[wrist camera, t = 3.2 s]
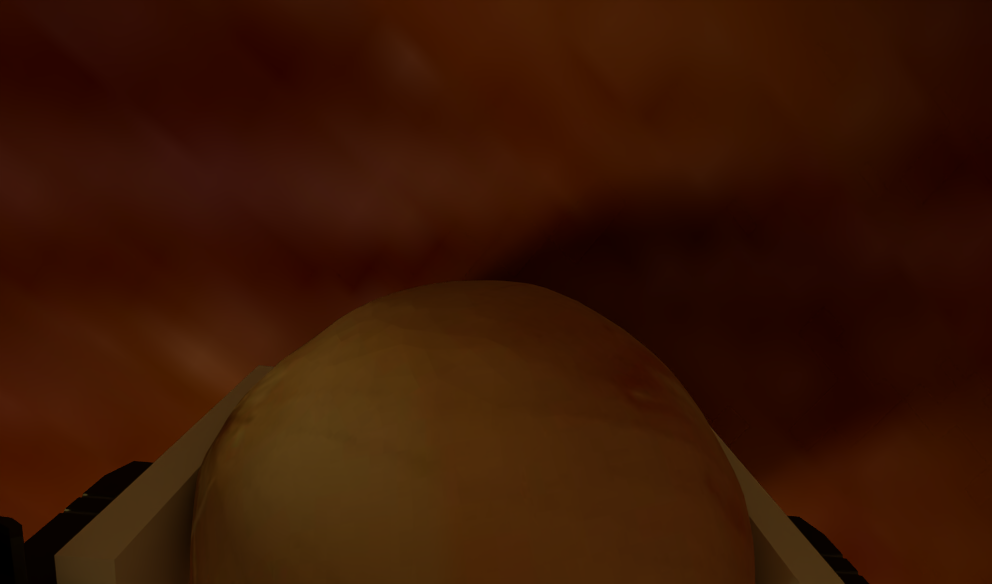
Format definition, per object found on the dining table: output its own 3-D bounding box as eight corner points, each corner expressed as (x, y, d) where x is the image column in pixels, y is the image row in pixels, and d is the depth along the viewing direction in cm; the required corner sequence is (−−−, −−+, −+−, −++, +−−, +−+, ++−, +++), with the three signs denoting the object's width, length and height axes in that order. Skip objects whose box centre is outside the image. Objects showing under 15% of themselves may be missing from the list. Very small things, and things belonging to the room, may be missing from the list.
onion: (345, 191, 13) (-15, 278, 4) (705, 307, 14) (1176, 619, 5) (262, 512, 15) (-102, 1105, 6) (580, 593, 16) (723, 1212, 7)
